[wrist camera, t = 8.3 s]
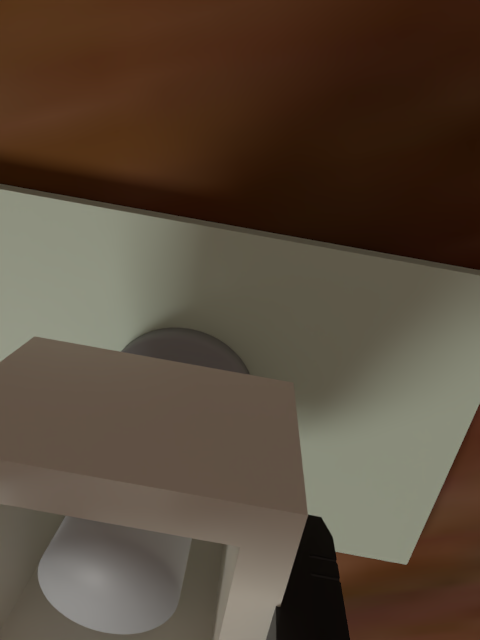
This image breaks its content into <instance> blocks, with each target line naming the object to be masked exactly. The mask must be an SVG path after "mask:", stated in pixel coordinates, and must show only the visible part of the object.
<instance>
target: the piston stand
mask: <svg viewBox="0 0 480 640" xmlns="http://www.w3.org/2000/svg"><path fill="white" fill-rule="evenodd" d="M34 336H36V337H41V338H47V339H52V340H58V341H64V342H69V343H75V344H80V345H86V346H92V347H97V348H103V349H108V350H114V351H120V352H125V353H131V354H136V355H142V356H147V357H153V358H159V359H164V360H170V361H175V362H181V363H187V364H192V365H198V366H203V367H209V368H214V369H220V370H226V371H231V372H237V373H242V374H248V375H254V376H259V377H265V378H270V379H276V380H282V381H287V382H293V383H294V392H295V401H296V410H297V419H298V428H299V437H300V447H301V456H302V465H303V474H304V483H305V492H306V502H307V511H308V515H313V516H318V517H322V519H323V521H324V523H325V524H326V526H327V528H328V530H329V531H330V533H331V535H332V536H333V541H334V547H335V552H340V553H346V554H351V555H357V556H362V557H368V558H373V559H379V560H384V561H389V562H395V563H400V564H406V565H407V563H408V561H409V559H410V557H411V554H412V552H413V550H414V548H415V545H416V543H417V541H418V539H419V537H420V534H421V532H422V530H423V528H424V526H425V523H426V521H427V519H428V517H429V514H430V512H431V510H432V508H433V506H434V503H435V501H436V499H437V497H438V495H439V492H440V490H441V488H442V486H443V483H444V481H445V479H446V477H447V475H448V472H449V470H450V468H451V466H452V463H453V461H454V459H455V457H456V455H457V452H458V450H459V448H460V446H461V444H462V441H463V439H464V437H465V435H466V432H467V430H468V428H469V426H470V424H471V421H472V419H473V417H474V415H475V412H476V410H477V408H478V406H479V404H480V270H476V269H470V268H465V267H459V266H454V265H448V264H443V263H437V262H432V261H426V260H420V259H415V258H409V257H404V256H398V255H393V254H387V253H382V252H376V251H370V250H365V249H359V248H354V247H348V246H343V245H337V244H332V243H326V242H320V241H315V240H309V239H304V238H298V237H293V236H287V235H282V234H276V233H271V232H265V231H259V230H254V229H248V228H243V227H237V226H232V225H226V224H221V223H215V222H209V221H204V220H198V219H193V218H187V217H182V216H176V215H171V214H165V213H160V212H154V211H148V210H143V209H137V208H132V207H126V206H121V205H115V204H110V203H104V202H98V201H93V200H87V199H82V198H76V197H71V196H65V195H60V194H54V193H48V192H43V191H37V190H32V189H26V188H21V187H15V186H10V185H4V184H0V362H1V361H2V360H3V359H5V358H6V357H7V356H9V355H10V354H11V353H13V352H14V351H16V350H17V349H18V348H20V347H21V346H22V345H24V344H25V343H26V342H28V341H29V340H30V339H32V338H33V337H34ZM191 541H192V538H187V537H182V536H176V535H171V534H165V533H160V532H154V531H148V530H143V529H137V528H132V527H126V526H121V525H115V524H110V523H104V522H98V521H93V520H87V519H82V518H76V517H71V516H65V518H64V520H63V521H62V523H61V525H60V527H59V528H58V530H57V532H56V533H55V535H54V537H53V539H52V540H51V542H50V544H49V546H48V547H47V549H46V551H45V552H44V554H43V556H42V558H41V560H40V562H39V566H38V581H39V584H40V587H41V589H42V591H43V594H44V595H45V597H46V598H47V600H48V601H49V602H50V603H51V604H52V606H53V607H55V608H56V609H57V610H58V611H59V612H60V613H61V614H63V615H64V616H65V617H67V618H69V619H70V620H72V621H74V622H76V623H78V624H80V625H82V626H84V627H87V628H90V629H93V630H96V631H100V632H104V633H111V634H136V633H142V632H146V631H149V630H152V629H154V628H156V627H158V626H160V625H162V624H163V623H165V622H166V621H167V620H168V619H169V618H170V617H171V616H172V615H173V614H174V612H175V610H176V608H177V606H178V603H179V599H180V594H181V589H182V584H183V579H184V575H185V570H186V565H187V560H188V555H189V551H190V546H191Z"/></svg>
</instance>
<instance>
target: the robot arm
mask: <svg viewBox="0 0 480 640" xmlns="http://www.w3.org/2000/svg"><path fill="white" fill-rule="evenodd" d="M339 578H340V577H339V571H338V565H337V563H336V553H335V547H334V541H333V536H332V535H331V533H330V531H329V530H328V528H327V526H326V524H325V523H324V521H323V519H322V517H318V516H313V515H308V517H307V520H306V524H305V527H304V530H303V534H302V537H301V540H300V543H299V547H298V550H297V553H296V557H295V560H294V563H293V567H292V570H291V573H290V576H289V580H288V583H287V586H286V590H285V593H284V596H283V600H282V603H281V606H280V607H278V606H276V607H275V611H274V614H273V617H272V621H271V624H270V627H269V631H268V634H267V638H266V640H350V637H349V631H348V625H347V619H346V613H345V607H344V601H343V595H342V589H341V583H340V582H339Z"/></svg>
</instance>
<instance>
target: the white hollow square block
mask: <svg viewBox="0 0 480 640" xmlns="http://www.w3.org/2000/svg"><path fill="white" fill-rule="evenodd" d="M65 516H71V517H76V518H82V519H87V520H93V521H98V522H104V523H110V524H115V525H121V526H126V527H132V528H137V529H143V530H148V531H154V532H160V533H165V534H171V535H176V536H182V537H187V538H192V541H191V546H190V551H189V555H188V560H187V565H186V570H185V575H184V579H183V584H182V589H181V594H180V599H179V603H178V606H177V608H176V610H175V612H174V614H173V615H172V616H171V617H170V618H169V619H168V620H167V621H166V622H165V623H163V624H162V625H160V626H158V627H156V628H154V629H152V630H149V631H146V632H142V633H136V634H111V633H104V632H100V631H96V630H93V629H90V628H87V627H84V626H82V625H80V624H78V623H76V622H74V621H72V620H70V619H69V618H67V617H65V616H64V615H63V614H61V613H60V612H59V611H58V610H57V609H56V608H55V607H53V606H52V604H51V603H50V602H49V601H48V600H47V598H46V597H45V595H44V594H43V591H42V589H41V587H40V584H39V581H38V566H39V562H40V560H41V558H42V556H43V554H44V552H45V551H46V549H47V547H48V546H49V544H50V542H51V540H52V539H53V537H54V535H55V533H56V532H57V530H58V528H59V527H60V525H61V523H62V521H63V520H64V518H65ZM307 517H308V511H307V502H306V492H305V483H304V474H303V465H302V456H301V447H300V437H299V428H298V419H297V410H296V401H295V392H294V383H293V382H287V381H282V380H276V379H270V378H265V377H259V376H254V375H248V374H242V373H237V372H231V371H226V370H220V369H214V368H209V367H203V366H198V365H192V364H187V363H181V362H175V361H170V360H164V359H159V358H153V357H147V356H142V355H136V354H131V353H125V352H120V351H114V350H108V349H103V348H97V347H92V346H86V345H80V344H75V343H69V342H64V341H58V340H52V339H47V338H41V337H36V336H34V337H33V338H32V339H30V340H29V341H28V342H26V343H25V344H24V345H22V346H21V347H20V348H18V349H17V350H16V351H14V352H13V353H11V354H10V355H9V356H7V357H6V358H5V359H3V360H2V361H1V362H0V640H266V638H267V634H268V631H269V627H270V624H271V621H272V617H273V614H274V611H275V607H276V606H278V607H280V606H281V603H282V600H283V596H284V593H285V590H286V586H287V583H288V580H289V576H290V573H291V570H292V567H293V563H294V560H295V557H296V553H297V550H298V547H299V543H300V540H301V537H302V534H303V530H304V527H305V524H306V520H307Z"/></svg>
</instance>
